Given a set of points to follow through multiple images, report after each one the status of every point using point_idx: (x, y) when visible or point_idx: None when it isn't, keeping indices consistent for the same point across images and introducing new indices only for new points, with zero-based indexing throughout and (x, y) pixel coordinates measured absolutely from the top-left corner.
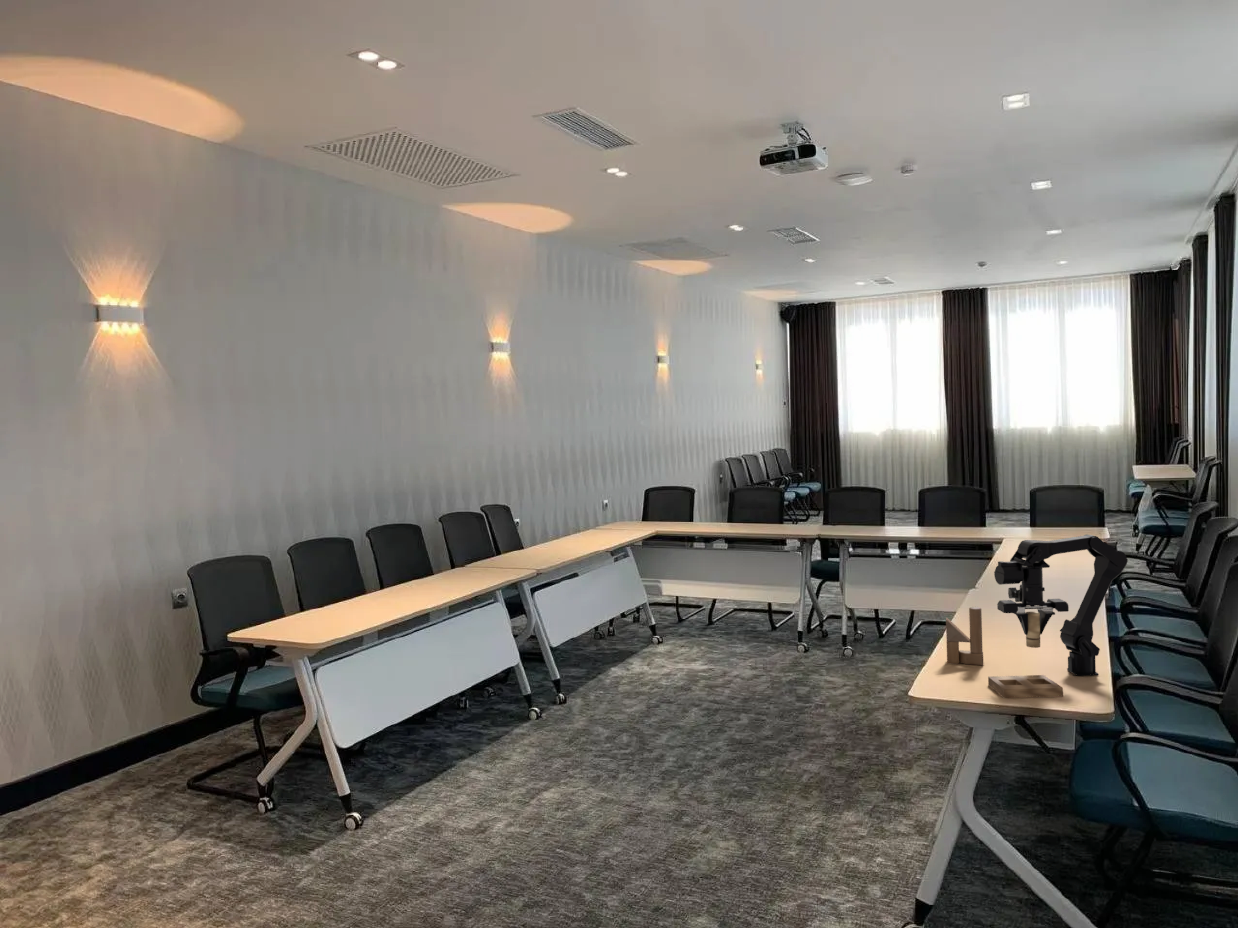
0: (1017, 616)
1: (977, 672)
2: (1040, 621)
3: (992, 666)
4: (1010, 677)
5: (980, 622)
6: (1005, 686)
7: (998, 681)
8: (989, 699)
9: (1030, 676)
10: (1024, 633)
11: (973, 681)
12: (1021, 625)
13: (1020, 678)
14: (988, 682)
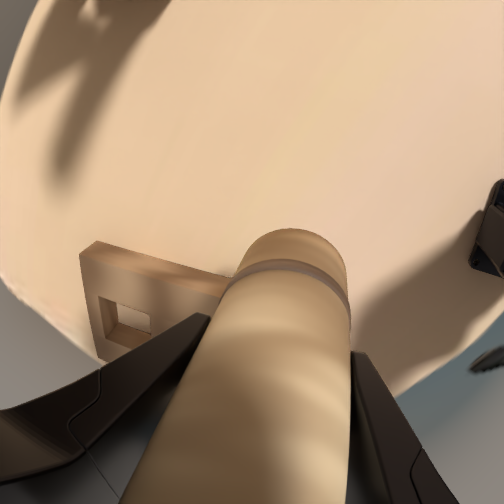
0: (12, 418)
1: (110, 86)
2: (351, 492)
3: (210, 5)
4: (141, 290)
5: None
6: (105, 345)
7: (96, 306)
8: (80, 333)
9: (216, 309)
10: (194, 314)
11: (68, 192)
12: (125, 357)
13: (169, 313)
14: (91, 245)
